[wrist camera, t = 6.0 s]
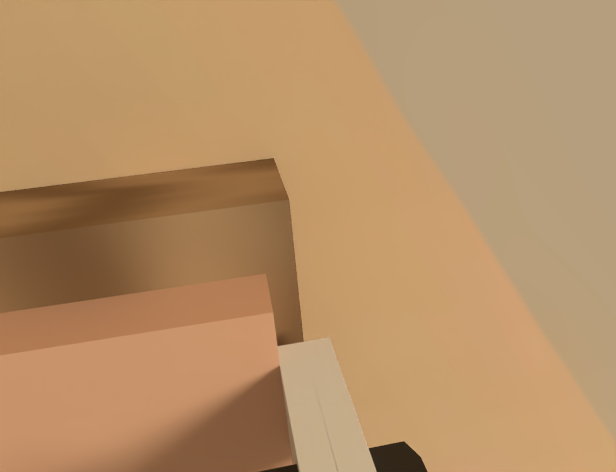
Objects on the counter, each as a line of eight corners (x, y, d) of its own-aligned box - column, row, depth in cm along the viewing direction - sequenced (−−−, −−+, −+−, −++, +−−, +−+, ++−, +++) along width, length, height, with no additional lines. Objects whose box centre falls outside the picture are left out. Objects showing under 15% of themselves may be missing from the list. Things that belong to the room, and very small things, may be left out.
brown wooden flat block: (8, 443, 20) (-37, 538, 17) (-97, 204, 16) (-189, 263, 12) (299, 391, 21) (316, 470, 18) (273, 158, 17) (289, 199, 14)
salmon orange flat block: (-3, 487, 16) (-30, 548, 14) (-80, 325, 13) (-125, 375, 12) (286, 433, 17) (295, 484, 15) (265, 273, 14) (273, 312, 13)
